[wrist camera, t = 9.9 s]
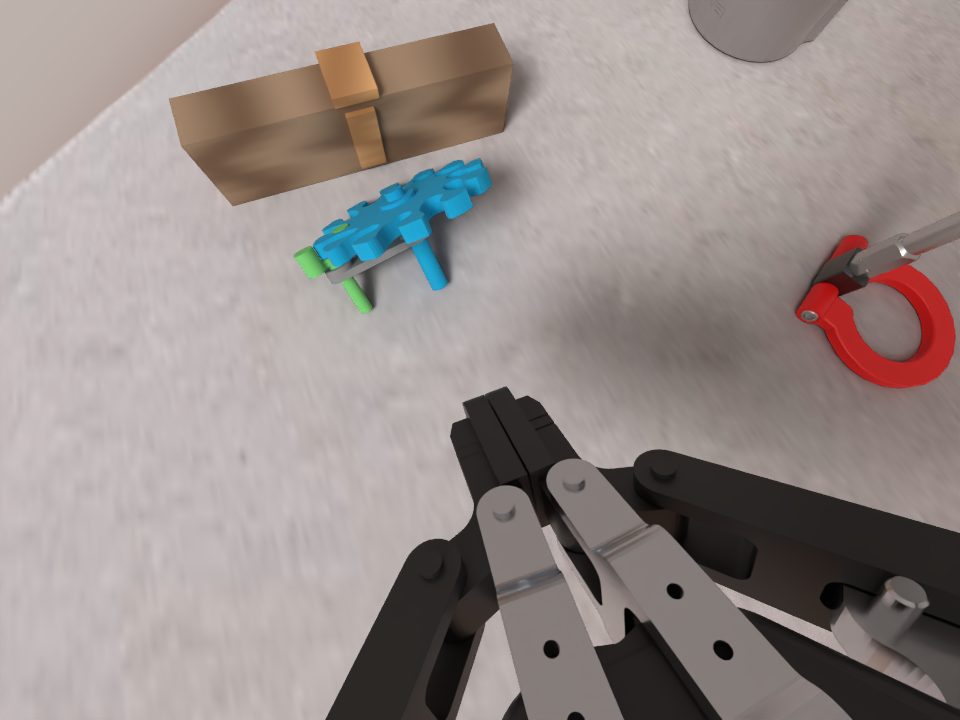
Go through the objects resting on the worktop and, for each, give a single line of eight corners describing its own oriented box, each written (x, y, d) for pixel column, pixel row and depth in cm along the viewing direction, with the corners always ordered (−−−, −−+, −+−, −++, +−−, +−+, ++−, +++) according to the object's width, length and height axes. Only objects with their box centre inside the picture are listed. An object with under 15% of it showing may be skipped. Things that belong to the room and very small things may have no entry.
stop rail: (486, 96, 29) (494, 10, 23) (504, 135, 28) (517, 57, 23) (221, 164, 26) (160, 86, 21) (233, 210, 25) (174, 141, 20)
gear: (455, 141, 26) (510, 155, 18) (489, 228, 29) (548, 275, 21) (295, 221, 25) (275, 274, 17) (347, 300, 29) (352, 376, 21)
